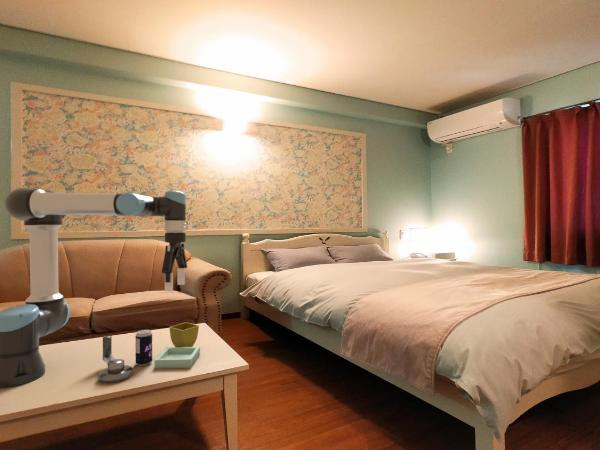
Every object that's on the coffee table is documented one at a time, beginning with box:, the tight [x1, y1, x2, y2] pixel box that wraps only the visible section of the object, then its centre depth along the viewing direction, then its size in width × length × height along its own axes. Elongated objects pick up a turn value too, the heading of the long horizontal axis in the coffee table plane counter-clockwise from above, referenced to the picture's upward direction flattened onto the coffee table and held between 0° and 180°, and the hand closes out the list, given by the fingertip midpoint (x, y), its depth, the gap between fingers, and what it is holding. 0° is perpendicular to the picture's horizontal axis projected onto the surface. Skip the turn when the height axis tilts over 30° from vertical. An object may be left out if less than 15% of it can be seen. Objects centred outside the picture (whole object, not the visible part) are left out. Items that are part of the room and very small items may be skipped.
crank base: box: [98, 364, 133, 385], centre depth 119 cm, size 10×10×2 cm
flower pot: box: [169, 322, 200, 347], centre depth 147 cm, size 9×9×9 cm
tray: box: [154, 346, 201, 369], centre depth 132 cm, size 13×13×3 cm
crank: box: [102, 335, 125, 374], centre depth 122 cm, size 15×5×9 cm, turn 43°
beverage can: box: [135, 329, 153, 367], centre depth 130 cm, size 6×6×12 cm
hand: (175, 287), depth 133 cm, fingers open, 13 cm apart
